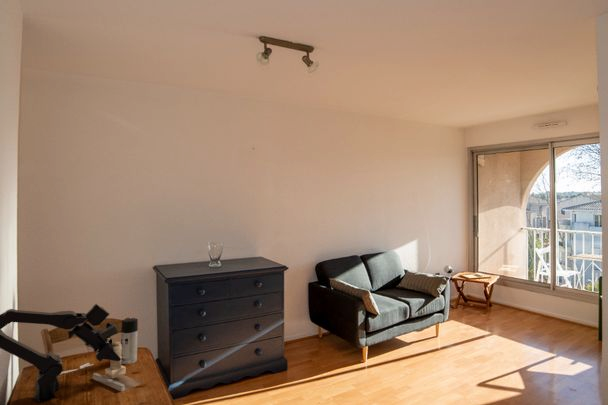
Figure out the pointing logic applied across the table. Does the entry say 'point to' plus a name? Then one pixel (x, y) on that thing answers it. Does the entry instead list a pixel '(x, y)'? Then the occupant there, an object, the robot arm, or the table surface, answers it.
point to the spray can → (129, 340)
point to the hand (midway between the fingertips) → (119, 358)
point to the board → (117, 381)
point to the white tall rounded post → (115, 363)
